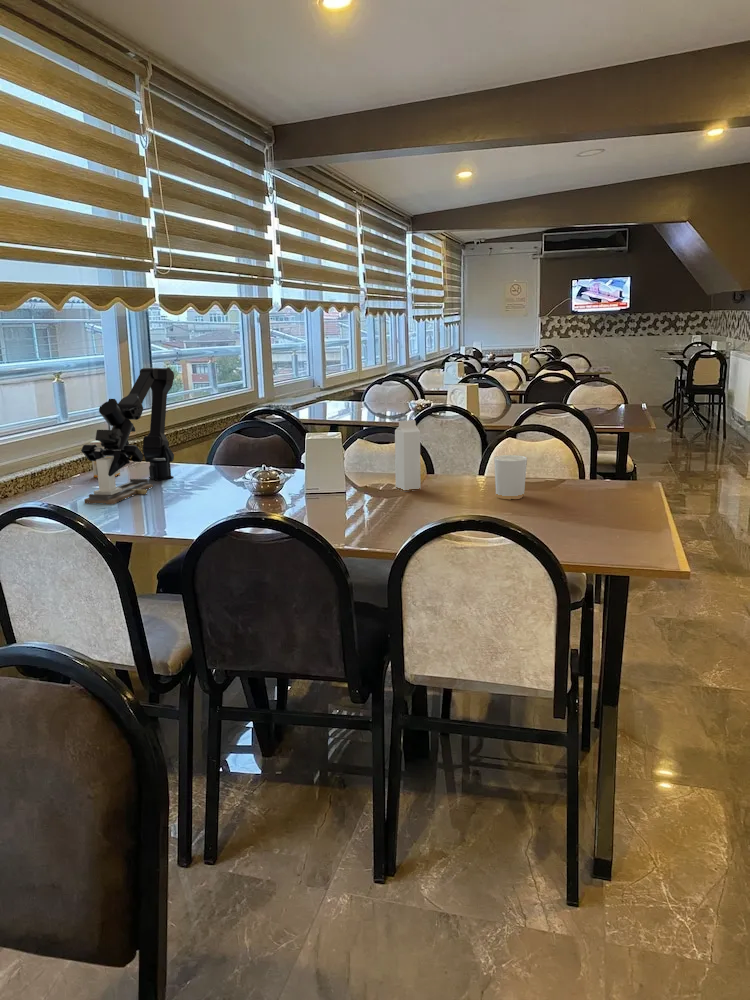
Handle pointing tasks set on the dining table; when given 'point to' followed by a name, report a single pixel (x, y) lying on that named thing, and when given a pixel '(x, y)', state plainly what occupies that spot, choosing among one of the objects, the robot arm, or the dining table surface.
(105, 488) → the white upright block
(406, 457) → the milk
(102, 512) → the dining table surface
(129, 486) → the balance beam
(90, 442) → the supplement box
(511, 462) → the candle holder
